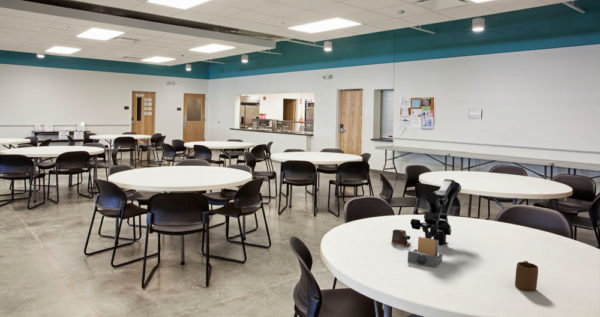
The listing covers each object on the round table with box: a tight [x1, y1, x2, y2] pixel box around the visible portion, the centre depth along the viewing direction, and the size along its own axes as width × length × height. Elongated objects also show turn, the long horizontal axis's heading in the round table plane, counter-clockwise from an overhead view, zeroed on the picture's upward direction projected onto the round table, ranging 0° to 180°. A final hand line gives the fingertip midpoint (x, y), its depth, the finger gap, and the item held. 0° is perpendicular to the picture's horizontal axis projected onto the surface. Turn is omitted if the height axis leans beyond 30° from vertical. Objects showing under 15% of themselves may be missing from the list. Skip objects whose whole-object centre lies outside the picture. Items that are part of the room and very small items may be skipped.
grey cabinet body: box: [407, 248, 443, 269], centre depth 188 cm, size 12×13×5 cm
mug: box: [514, 260, 539, 292], centre depth 164 cm, size 12×8×9 cm, turn 156°
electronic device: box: [391, 229, 412, 248], centre depth 212 cm, size 4×10×8 cm, turn 44°
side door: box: [417, 236, 439, 257], centre depth 192 cm, size 2×9×9 cm, turn 57°
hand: (426, 241), depth 195 cm, fingers closed
